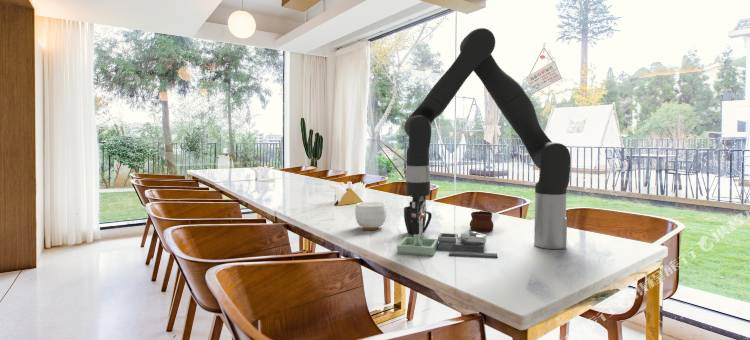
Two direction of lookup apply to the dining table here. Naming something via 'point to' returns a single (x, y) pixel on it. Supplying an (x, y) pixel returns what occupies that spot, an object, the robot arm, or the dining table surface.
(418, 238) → the lock pin
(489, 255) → the strip
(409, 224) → the mug
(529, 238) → the dining table surface
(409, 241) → the tray
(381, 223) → the cup
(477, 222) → the ceramic pot
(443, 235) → the grey stepped block
